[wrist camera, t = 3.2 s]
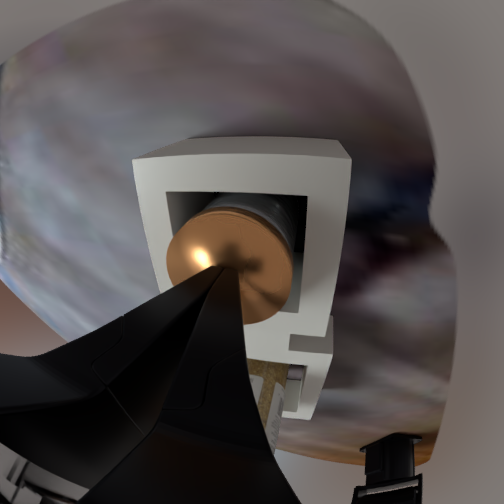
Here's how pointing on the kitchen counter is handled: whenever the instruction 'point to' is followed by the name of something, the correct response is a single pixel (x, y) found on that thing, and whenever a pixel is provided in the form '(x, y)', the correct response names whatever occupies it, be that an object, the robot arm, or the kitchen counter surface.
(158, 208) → the housing
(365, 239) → the kitchen counter surface
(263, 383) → the sprinkles bottle
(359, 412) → the kitchen counter surface
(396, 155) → the kitchen counter surface
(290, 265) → the copper and black cylinder
